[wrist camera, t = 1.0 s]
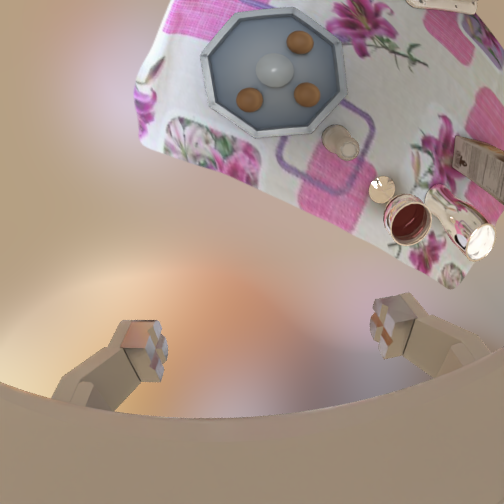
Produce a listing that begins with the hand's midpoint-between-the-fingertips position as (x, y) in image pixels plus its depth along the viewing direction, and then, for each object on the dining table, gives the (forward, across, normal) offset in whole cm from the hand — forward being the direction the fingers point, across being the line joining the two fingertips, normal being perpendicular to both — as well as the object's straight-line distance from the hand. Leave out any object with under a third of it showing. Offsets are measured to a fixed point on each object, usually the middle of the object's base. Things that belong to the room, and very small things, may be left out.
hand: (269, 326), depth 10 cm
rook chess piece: (+34, -14, -5) cm, 37 cm away
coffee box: (+31, -40, -4) cm, 51 cm away
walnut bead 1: (+33, -1, -11) cm, 35 cm away
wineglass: (+34, -22, +4) cm, 41 cm away
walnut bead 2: (+31, -8, -19) cm, 37 cm away
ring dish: (+33, -5, -15) cm, 36 cm away
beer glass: (+33, -34, +5) cm, 48 cm away
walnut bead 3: (+32, -9, -12) cm, 35 cm away
